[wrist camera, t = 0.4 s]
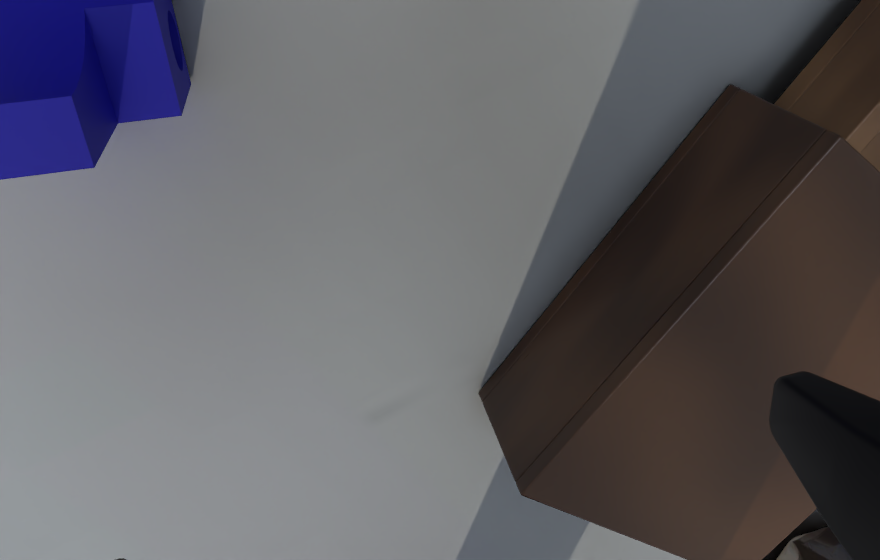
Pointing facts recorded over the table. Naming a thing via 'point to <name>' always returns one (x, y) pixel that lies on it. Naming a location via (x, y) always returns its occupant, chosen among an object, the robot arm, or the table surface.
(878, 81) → the drawer
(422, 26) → the table surface
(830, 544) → the black sponge
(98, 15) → the blue curved bracket
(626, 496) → the cabinet
